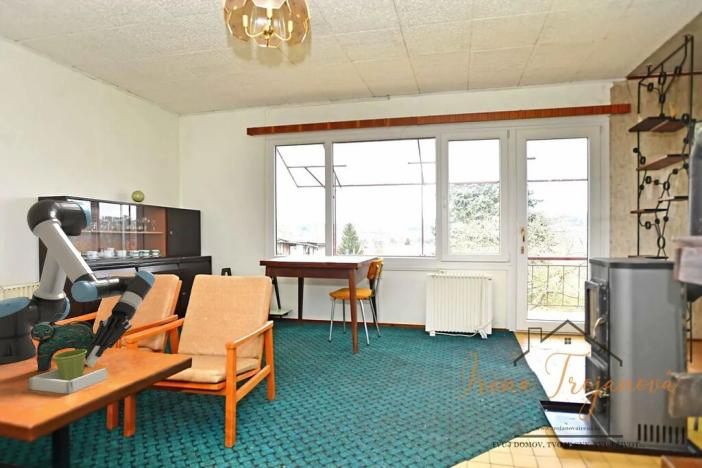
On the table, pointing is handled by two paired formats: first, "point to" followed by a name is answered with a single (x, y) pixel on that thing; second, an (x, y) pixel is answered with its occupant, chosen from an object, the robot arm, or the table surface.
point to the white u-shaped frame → (65, 381)
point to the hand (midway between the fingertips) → (88, 365)
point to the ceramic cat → (60, 340)
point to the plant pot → (70, 364)
